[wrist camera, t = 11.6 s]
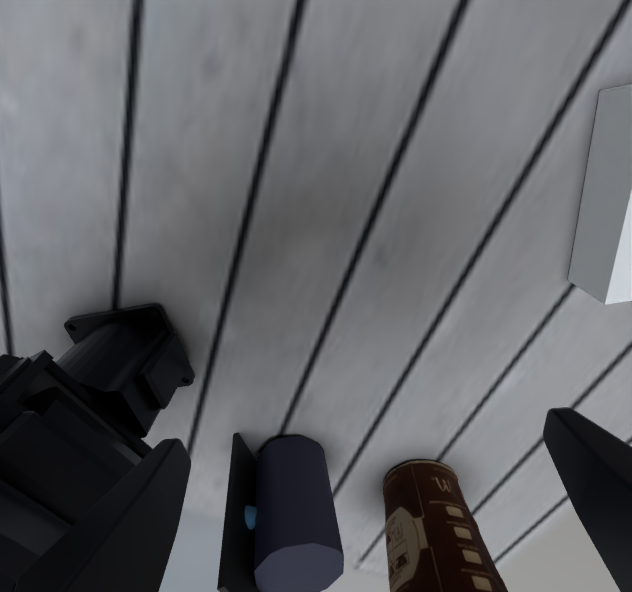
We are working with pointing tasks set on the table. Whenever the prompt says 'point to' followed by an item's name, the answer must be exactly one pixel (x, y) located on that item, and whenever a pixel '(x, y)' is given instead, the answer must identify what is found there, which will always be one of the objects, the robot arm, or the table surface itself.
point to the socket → (607, 204)
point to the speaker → (279, 520)
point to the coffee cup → (433, 534)
